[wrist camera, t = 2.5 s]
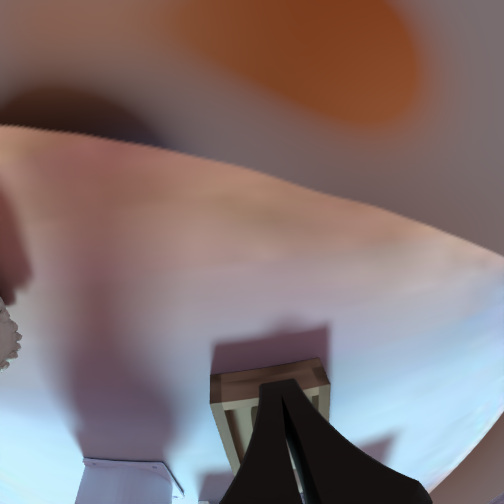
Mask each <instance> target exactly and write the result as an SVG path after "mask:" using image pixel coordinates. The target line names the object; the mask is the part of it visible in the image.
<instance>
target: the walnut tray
mask: <svg viewBox="0 0 504 504" xmlns="http://www.w3.org/2000/svg"><path fill="white" fill-rule="evenodd" d="M292 378H294V379H295V380H297V382H298V384H299V386H300V387H301V389H302V390H303V392H304V393H305V395H306V396H307V397H308V399H309V400H310V402H311V403H312V404H313V405H314V407H315V408H316V409H317V410H318V411H319V412H320V413H321V415H322V416H323V417H324V418H325V419H326V420H327V421H328V422H329V406H330V382H329V380H328V377H327V375H326V373H325V371H324V368H323V366H322V364H321V361H320V359H319V358H315V359H310V360H305V361H300V362H295V363H289V364H284V365H278V366H272V367H266V368H260V369H253V370H246V371H239V372H232V373H224V374H216V375H210V406H211V410H212V413H213V416H214V419H215V422H216V425H217V428H218V431H219V434H220V437H221V440H222V443H223V446H224V449H225V452H226V455H227V457H228V460H229V463H230V466H231V468H232V471H233V474H234V477H235V476H236V474H237V471H238V469H239V467H240V465H241V463H242V461H243V458H244V456H245V453H246V451H247V448H248V445H249V442H250V439H251V435H252V432H253V428H254V424H255V420H256V415H257V410H258V403H259V386H260V385H261V384H262V383H269V382H275V381H281V380H286V379H292ZM286 441H287V440H286ZM287 446H288V443H287ZM288 450H289V454H290V458H291V462H292V466H293V470H294V474H295V478H296V481H297V485H298V489H299V492H300V493H301V492H303V490H302V486H301V483H300V479H299V476H298V473H297V470H296V467H295V464H294V461H293V458H292V455H291V452H290V449H289V446H288Z"/></svg>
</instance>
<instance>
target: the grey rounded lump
mask: <svg viewBox="0 0 504 504" xmlns="http://www.w3.org/2000/svg"><path fill="white" fill-rule="evenodd" d="M9 317H10V315H9V313H8V311H7V310H6V307H5V304H4V302H3V300H2V298H1V297H0V372H2V371H3V370H5V369H7V368H8V367H9V365H10V364H9V363H10V362H11V361H13V360H15V359H16V358H17V357H18V354H17V351H18V350H20V348H21V346H20V344H19V343H17V341H19V340H21V338H22V335H21V334H19V333H18V332H16V331H17V330H18V325H17V324H16V323H15V322H14V321H12V320H11V319H10V318H9Z"/></svg>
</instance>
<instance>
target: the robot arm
mask: <svg viewBox="0 0 504 504" xmlns="http://www.w3.org/2000/svg"><path fill="white" fill-rule="evenodd" d="M286 440H287V441H286ZM287 443H288V446H289V449H290V452H291V455H292V458H293V461H294V464H295V467H296V470H297V473H298V476H299V479H300V483H301V486H302V490H303V494H304V499H305V504H432V503H433V502H432V500H431V498H430V496H429V494H428V492H427V491H426V490H425V488H424V487H423V486H422V484H421V483H420V482H419V481H417V480H415V479H412V478H410V477H407V476H405V475H403V474H401V473H399V472H396V471H394V470H393V469H391V468H389V467H387V466H385V465H383V464H381V463H380V462H378V461H377V460H375V459H373V458H372V457H370V456H369V455H367V454H365V453H364V452H363V451H361V450H360V449H359V448H357V447H356V446H355V445H353V444H352V443H351V442H349V441H348V440H347V439H346V438H345V437H344V436H342V435H341V434H340V433H339V432H338V431H337V430H336V429H335V428H334V427H333V426H332V425H331V424H330V423H329V422H328V421H327V420H326V419H325V418H324V417H323V416H322V415H321V413H320V412H319V411H318V410H317V409H316V408H315V407H314V405H313V404H312V403H311V402H310V400H309V399H308V397H307V396H306V395H305V393H304V392H303V390H302V389H301V387H300V386H299V384H298V382H297V380H295V379H294V378H292V379H286V380H281V381H275V382H269V383H262V384H261V385H260V386H259V403H258V410H257V415H256V420H255V424H254V428H253V432H252V435H251V439H250V442H249V445H248V448H247V451H246V453H245V456H244V458H243V461H242V463H241V465H240V467H239V469H238V471H237V474H236V476H235V478H234V480H233V481H232V483H231V485H230V487H229V489H228V490H227V492H226V493H225V495H224V497H223V498H222V500H221V501H220V503H219V504H303V503H302V499H301V496H300V492H299V489H298V485H297V481H296V478H295V474H294V470H293V466H292V462H291V458H290V454H289V450H288V446H287ZM82 462H83V463H84V465H85V469H84V472H83V476H82V479H81V483H80V486H79V490H78V494H77V497H76V501H75V504H172V499H182V498H184V494H183V492H182V491H181V489H180V488H179V486H178V485H177V483H176V482H175V480H174V479H173V477H172V476H171V474H170V472H169V471H168V469H167V468H166V466H165V465H164V464H163V463H161V462H126V461H109V460H97V459H87V458H84V459H83V461H82ZM486 504H504V492H503V493H502V494H500V495H499V496H497V497H495V498H494V499H493V500H491V501H489V502H488V503H486Z"/></svg>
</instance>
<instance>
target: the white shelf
mask: <svg viewBox="0 0 504 504" xmlns="http://www.w3.org/2000/svg"><path fill="white" fill-rule="evenodd" d="M198 504H210V503H209V502H208V501H198Z"/></svg>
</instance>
